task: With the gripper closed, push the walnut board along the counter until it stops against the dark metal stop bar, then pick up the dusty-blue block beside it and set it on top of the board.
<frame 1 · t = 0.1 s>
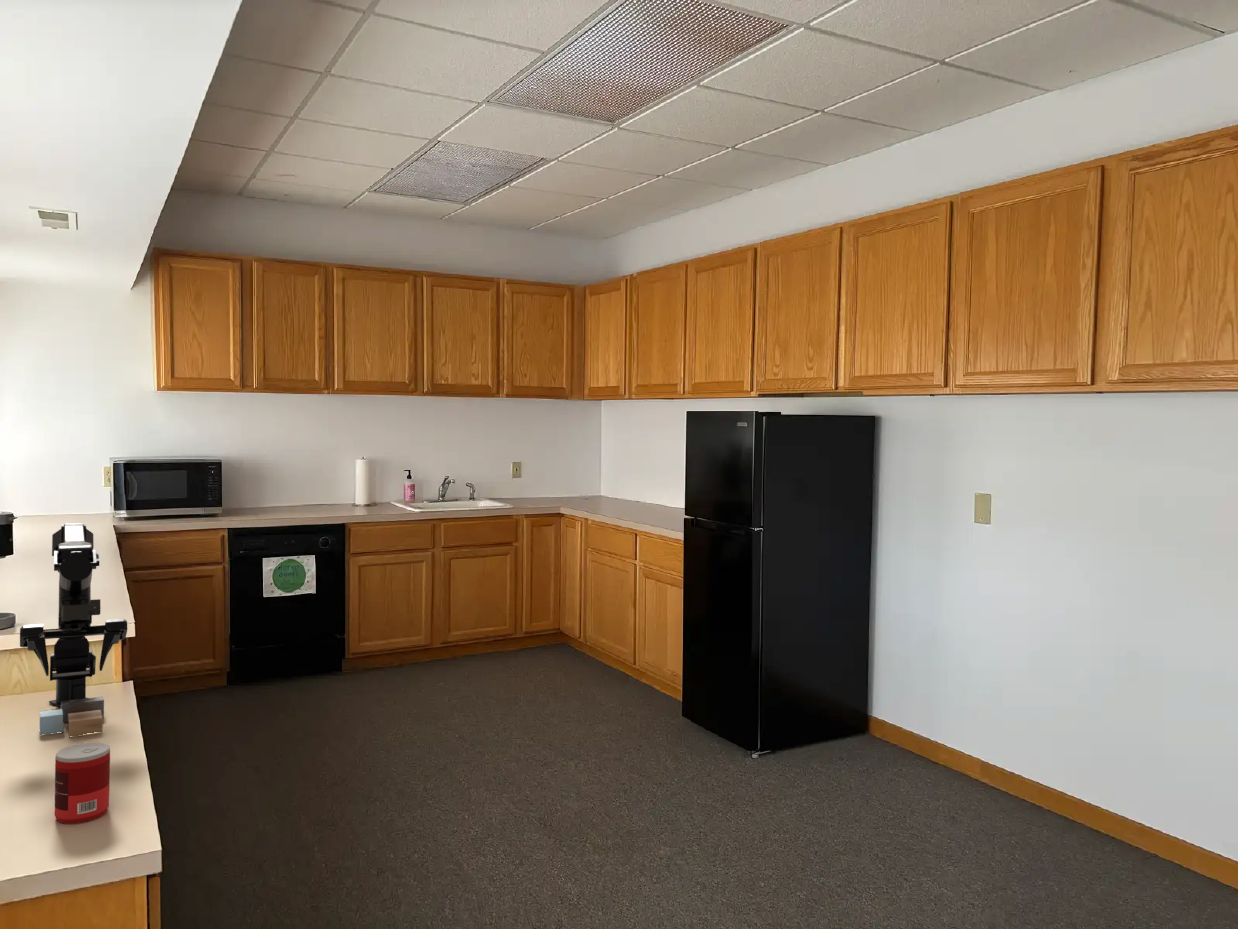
hand: (74, 672, 179), 15 cm above the counter, tool tilted 35°, fingers open, 9 cm apart
canned food: (82, 815, 149), on the counter
stop: (82, 718, 196), on the counter
board: (84, 732, 189), on the counter
block: (50, 731, 188), on the counter
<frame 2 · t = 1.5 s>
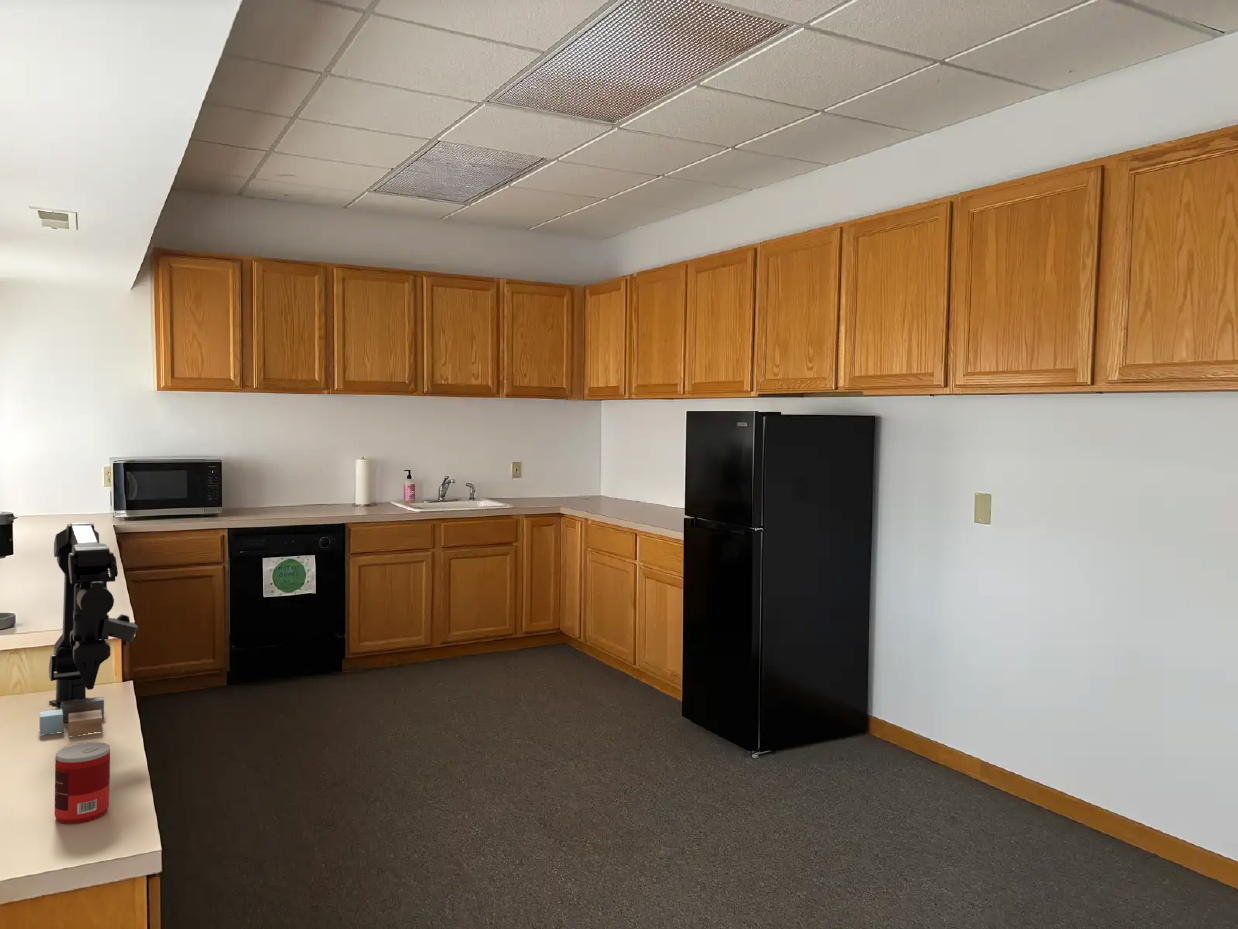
hand: (88, 684, 181), 12 cm above the counter, tool pointing down, fingers open, 8 cm apart
nothing on the counter moved.
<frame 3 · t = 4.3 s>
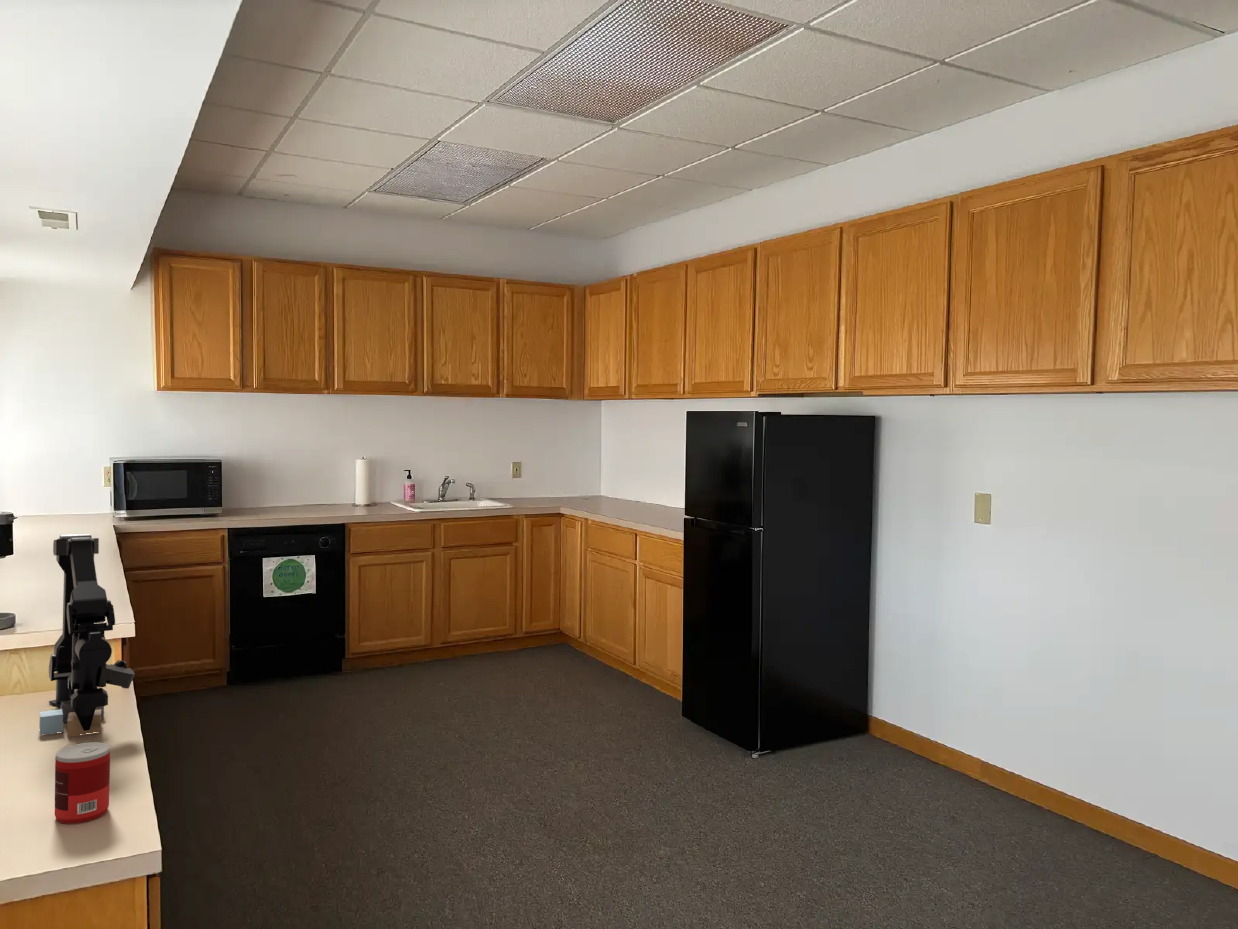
hand: (86, 730, 185), 1 cm above the counter, tool pointing down, fingers closed
board: (84, 731, 189), on the counter, touching gripper
everything else where it was.
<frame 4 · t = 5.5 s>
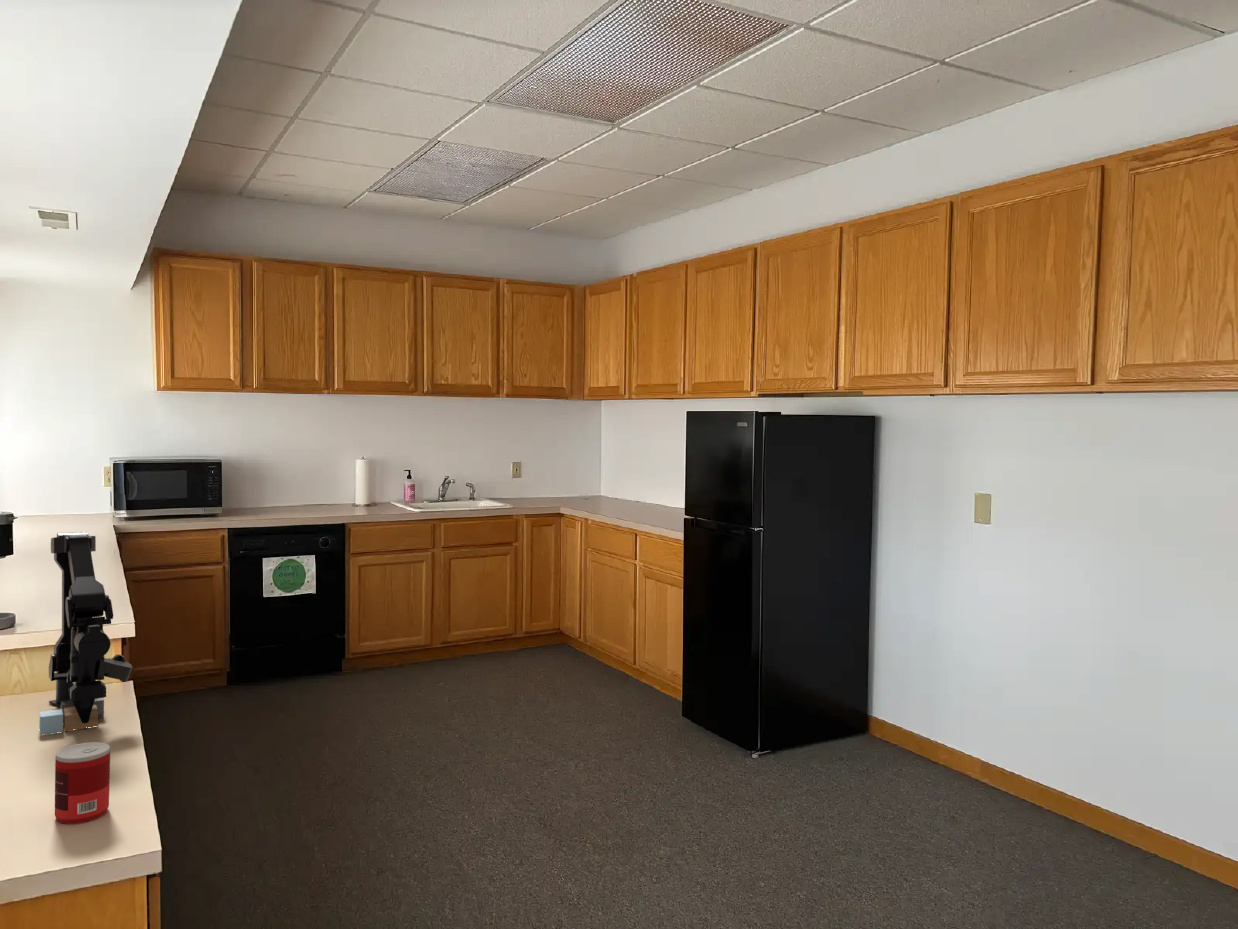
hand: (85, 722, 189), 2 cm above the counter, tool pointing down, fingers closed
board: (80, 725, 192), on the counter, touching gripper
everything else where it was.
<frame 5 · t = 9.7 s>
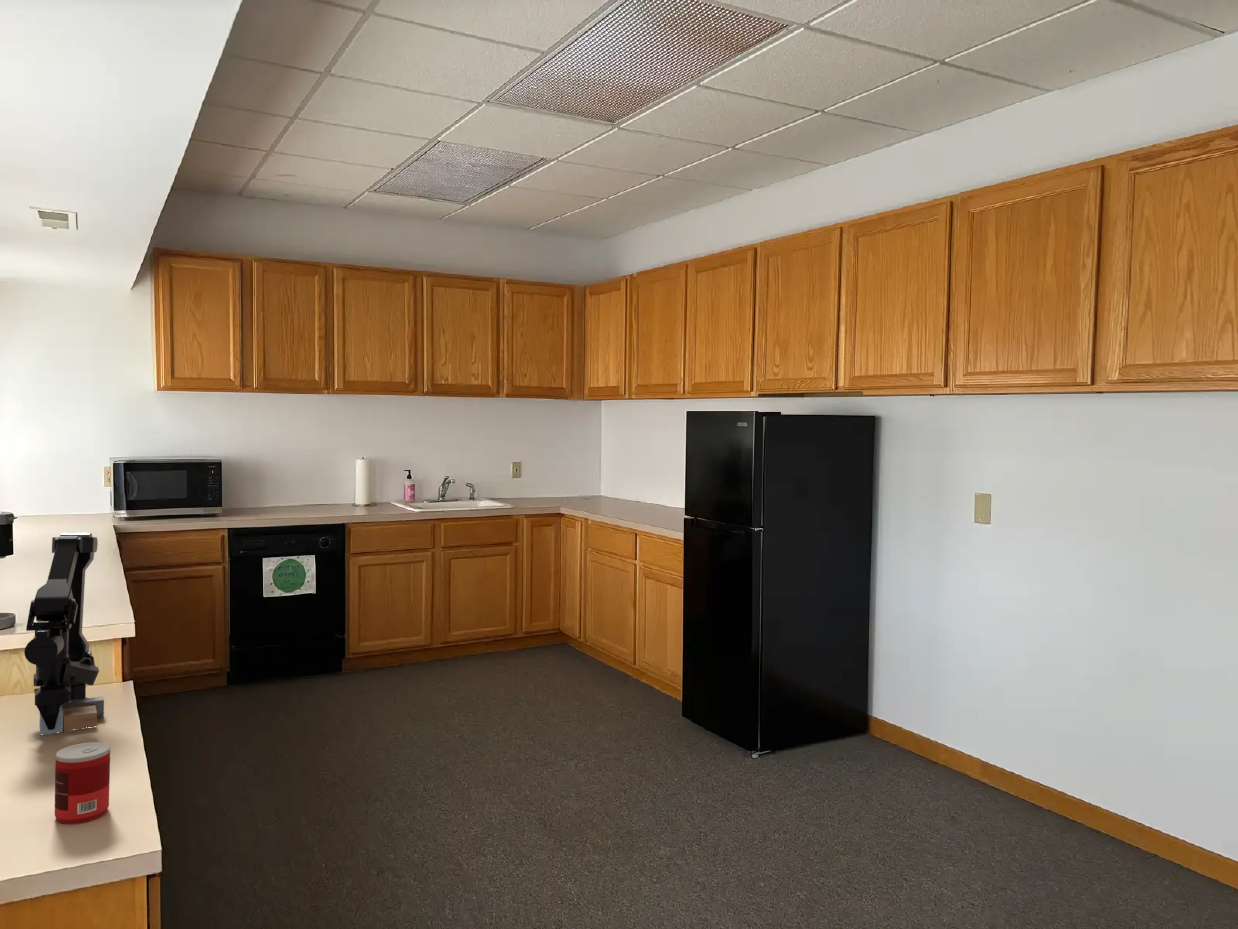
hand: (51, 726, 188), 1 cm above the counter, tool pointing down, fingers closed on block, 4 cm apart
board: (79, 726, 192), on the counter
block: (50, 731, 188), on the counter, touching gripper
everything else where it was.
when the fingers open (5 cm above the counter, at t = 12.3 s): block drops 1 cm, resting on board.
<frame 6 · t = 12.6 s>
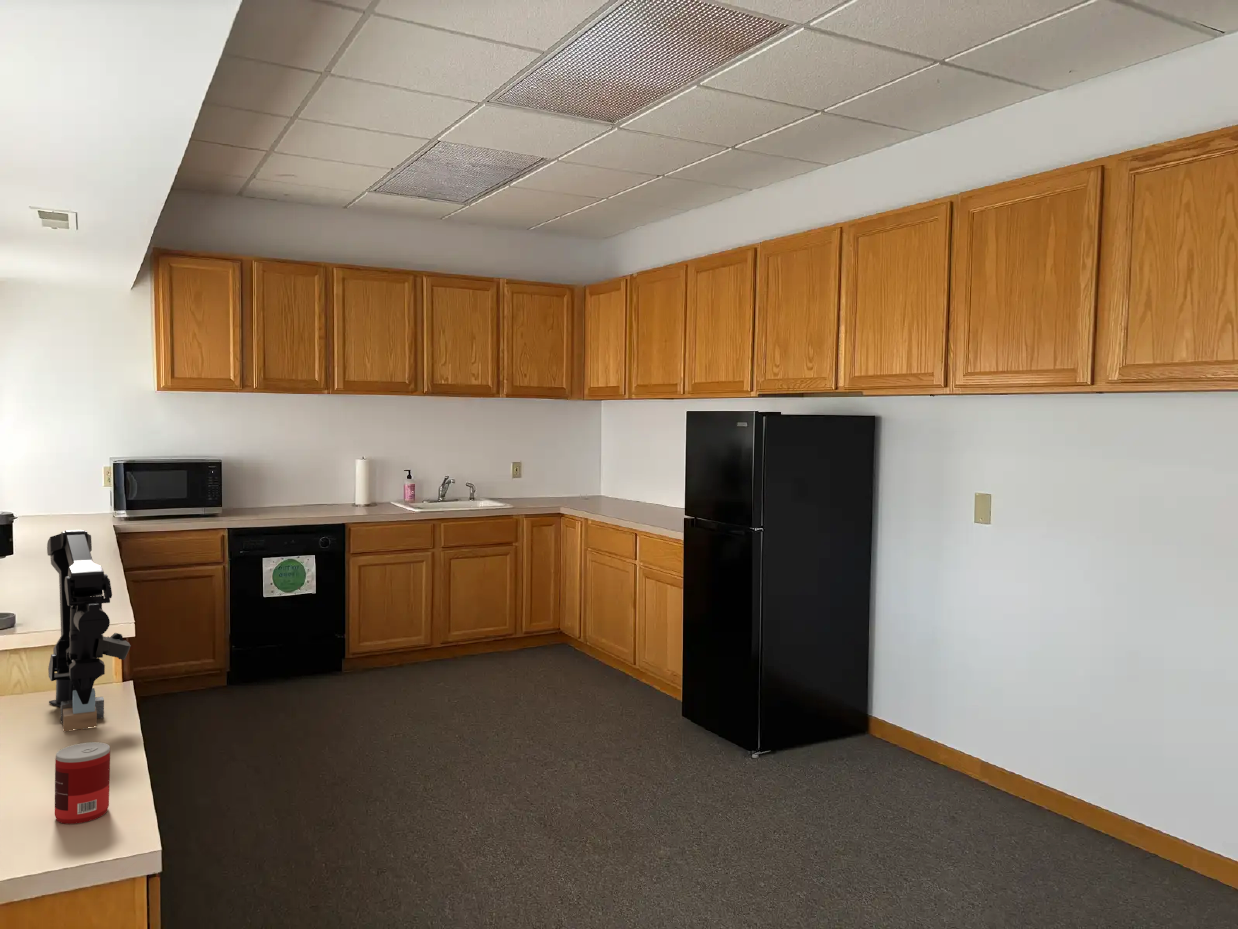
hand: (84, 699, 192), 5 cm above the counter, tool pointing down, fingers open, 7 cm apart
board: (79, 726, 192), on the counter, touching block
block: (83, 710, 192), point 3 cm above the counter, touching board
everything else where it was.
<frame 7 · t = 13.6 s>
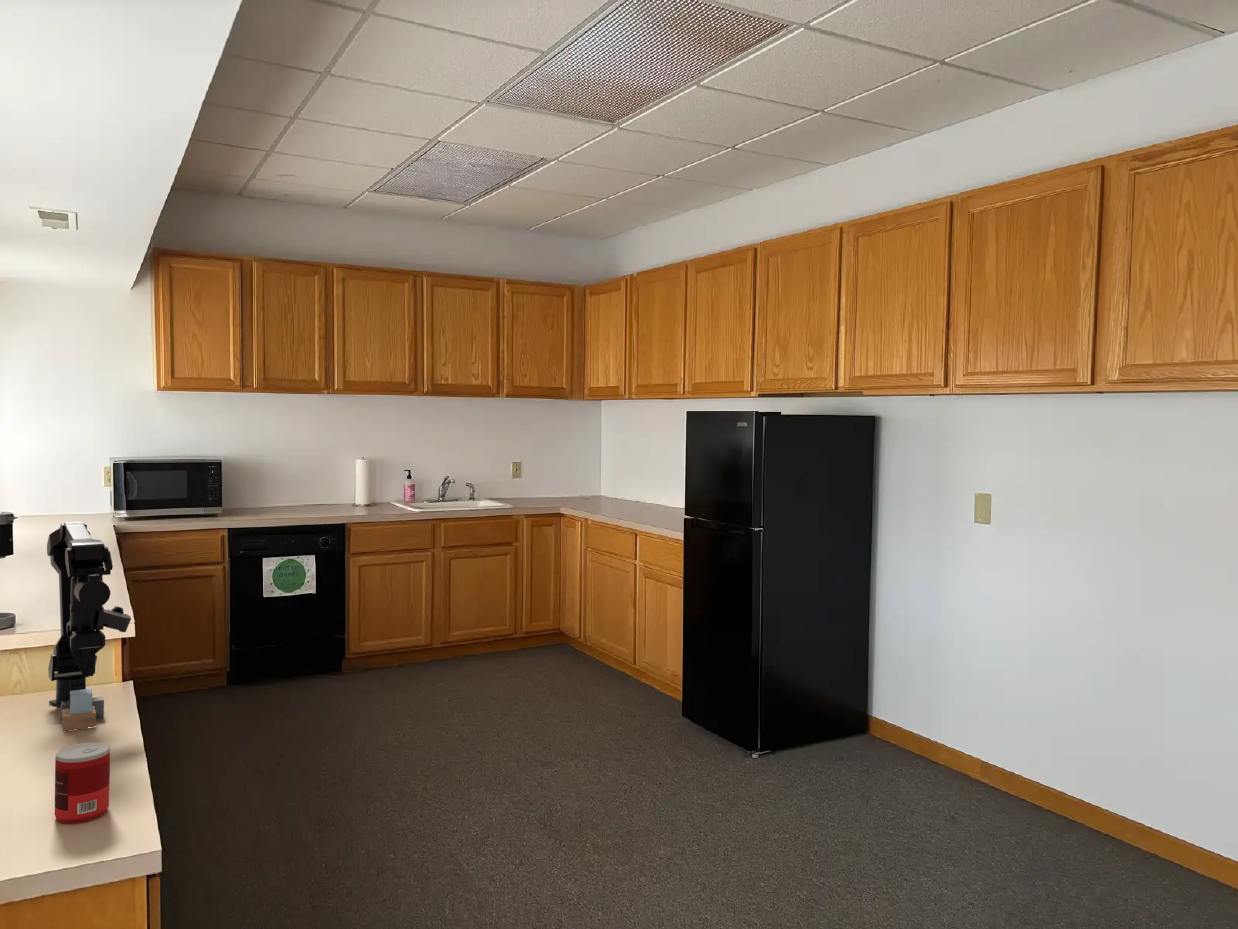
hand: (84, 672, 192), 12 cm above the counter, tool pointing down, fingers open, 9 cm apart
nothing on the counter moved.
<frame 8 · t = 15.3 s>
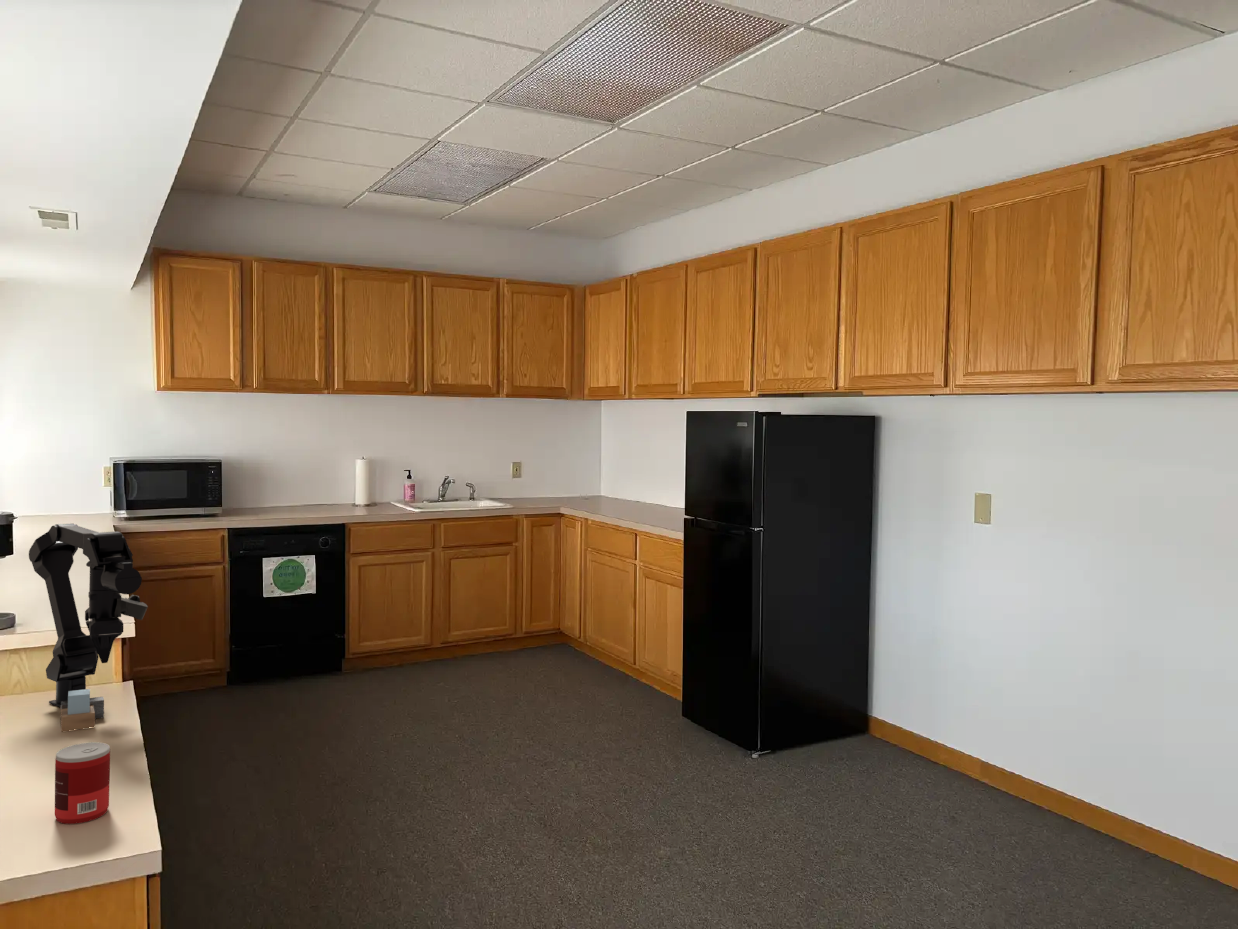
hand: (102, 658, 198), 13 cm above the counter, tool pointing down, fingers open, 9 cm apart
nothing on the counter moved.
at the end: board 1.2 cm from the target spot, on the counter; block 0.2 cm off-centre on the board, point 3.5 cm above the board's base; block tilted 0° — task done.
